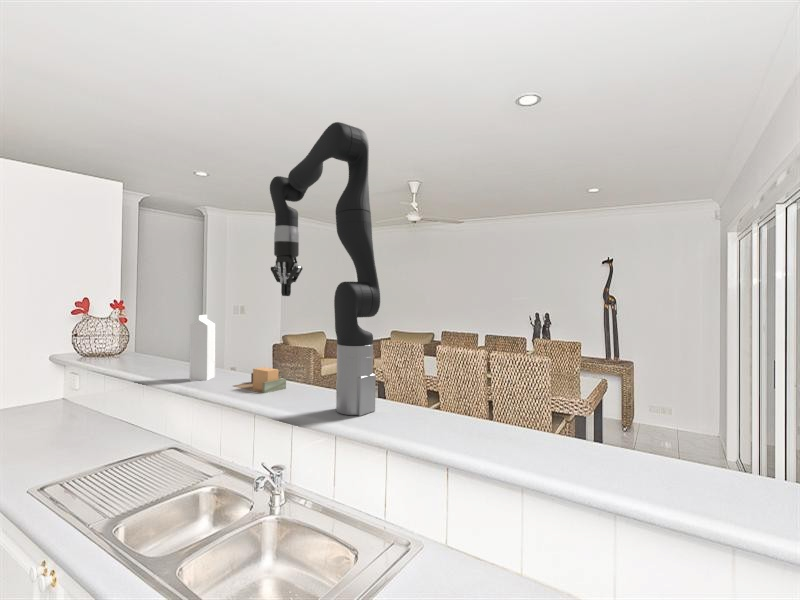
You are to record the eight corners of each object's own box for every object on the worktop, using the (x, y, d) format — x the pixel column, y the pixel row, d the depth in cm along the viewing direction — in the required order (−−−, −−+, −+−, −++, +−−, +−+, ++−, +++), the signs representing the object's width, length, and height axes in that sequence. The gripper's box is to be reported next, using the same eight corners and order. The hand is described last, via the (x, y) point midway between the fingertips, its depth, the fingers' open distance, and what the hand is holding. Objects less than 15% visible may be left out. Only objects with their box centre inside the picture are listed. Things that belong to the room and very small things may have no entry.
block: (278, 389, 137) (278, 369, 137) (267, 391, 133) (267, 371, 133) (263, 386, 141) (263, 367, 141) (252, 388, 137) (253, 368, 137)
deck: (286, 390, 138) (286, 378, 138) (264, 394, 131) (264, 382, 131) (253, 383, 147) (253, 372, 147) (231, 387, 140) (231, 376, 140)
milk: (189, 381, 148) (189, 315, 148) (198, 377, 155) (198, 314, 154) (207, 381, 148) (207, 315, 148) (215, 378, 154) (215, 314, 154)
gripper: (309, 241, 141) (309, 296, 141) (282, 243, 148) (281, 295, 149) (291, 238, 135) (290, 296, 135) (263, 241, 142) (262, 295, 143)
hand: (285, 295), depth 142 cm, fingers closed
